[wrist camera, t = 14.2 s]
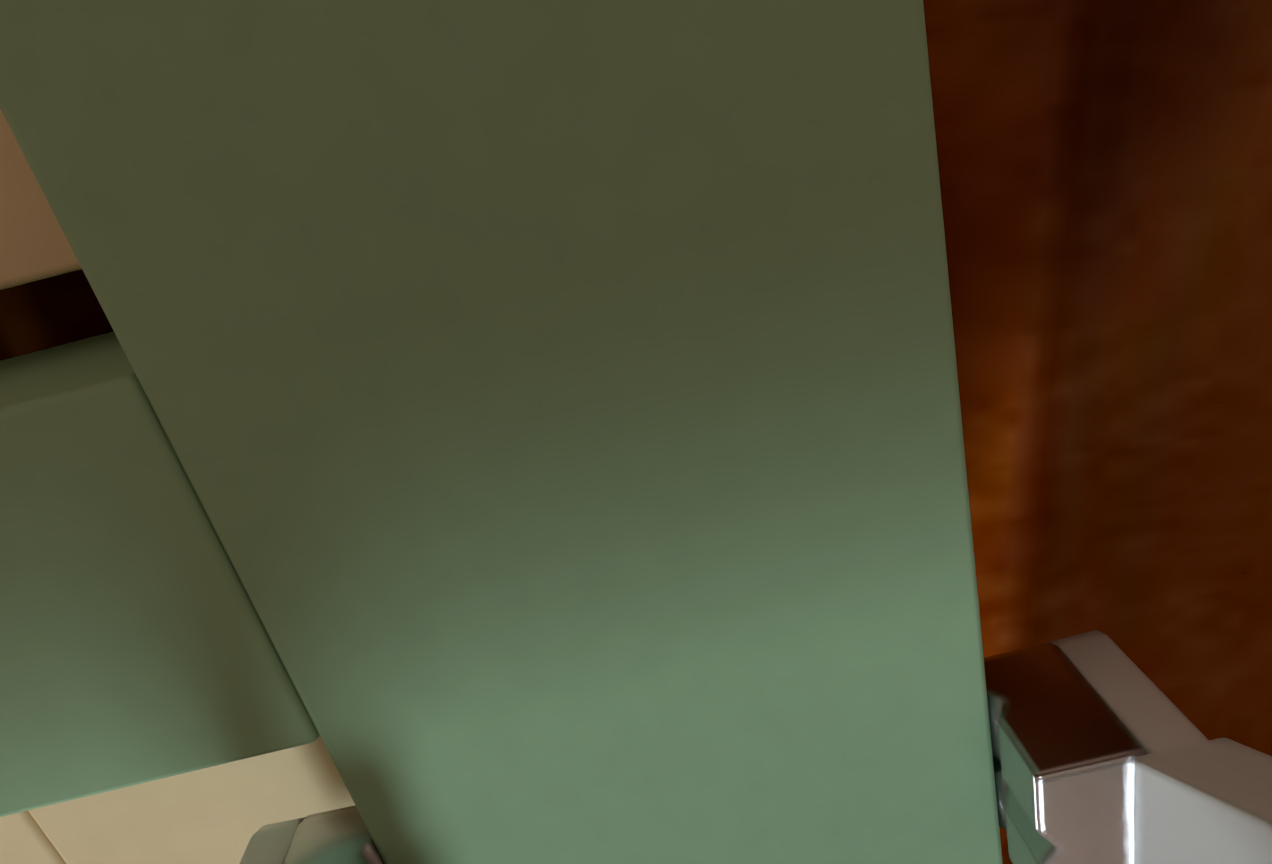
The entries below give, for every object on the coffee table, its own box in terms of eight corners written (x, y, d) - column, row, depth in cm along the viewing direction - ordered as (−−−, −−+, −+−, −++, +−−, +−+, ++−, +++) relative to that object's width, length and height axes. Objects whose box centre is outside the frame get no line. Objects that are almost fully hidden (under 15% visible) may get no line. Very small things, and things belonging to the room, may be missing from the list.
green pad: (921, 739, 11) (1009, 909, 9) (222, 902, 12) (136, 1106, 9) (765, -411, 7) (867, -673, 4) (-401, -81, 7) (-891, -161, 5)
